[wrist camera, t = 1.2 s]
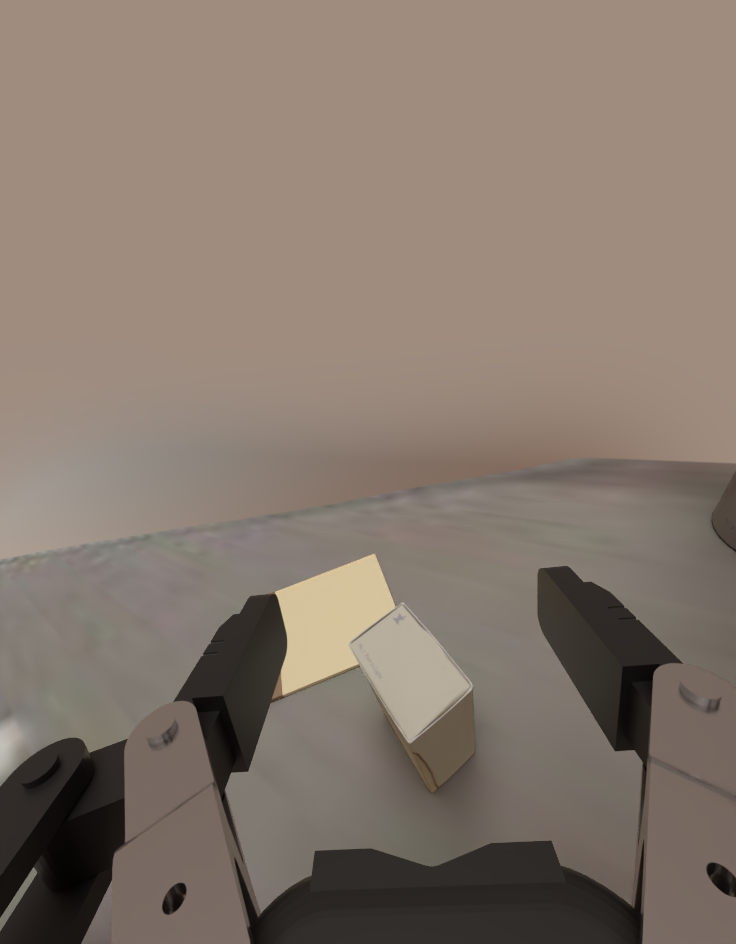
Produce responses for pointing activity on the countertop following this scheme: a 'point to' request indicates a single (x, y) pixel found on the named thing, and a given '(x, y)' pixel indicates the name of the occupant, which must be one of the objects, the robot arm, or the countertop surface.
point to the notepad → (328, 622)
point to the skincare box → (419, 693)
